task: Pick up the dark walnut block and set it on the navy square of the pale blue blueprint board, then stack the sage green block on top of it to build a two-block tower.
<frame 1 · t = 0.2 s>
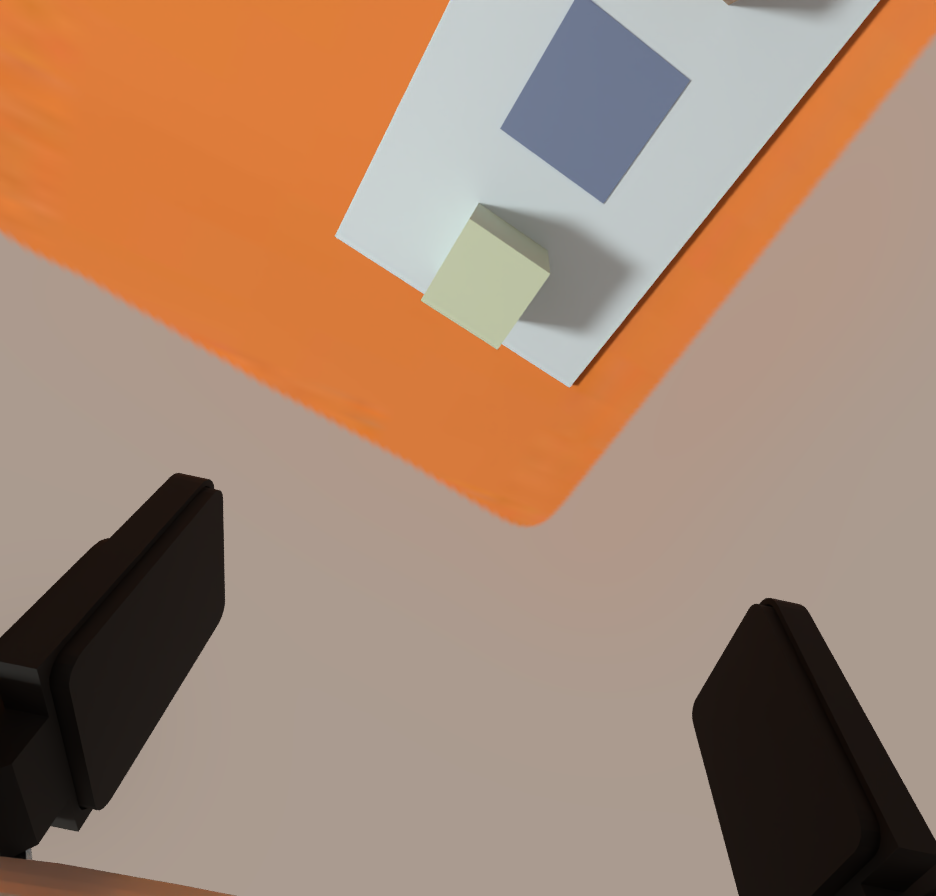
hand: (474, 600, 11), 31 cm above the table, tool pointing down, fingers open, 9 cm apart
sage block: (490, 262, 37), point 1 cm above the table, touching blueprint board
blueprint board: (591, 105, 33), on the table
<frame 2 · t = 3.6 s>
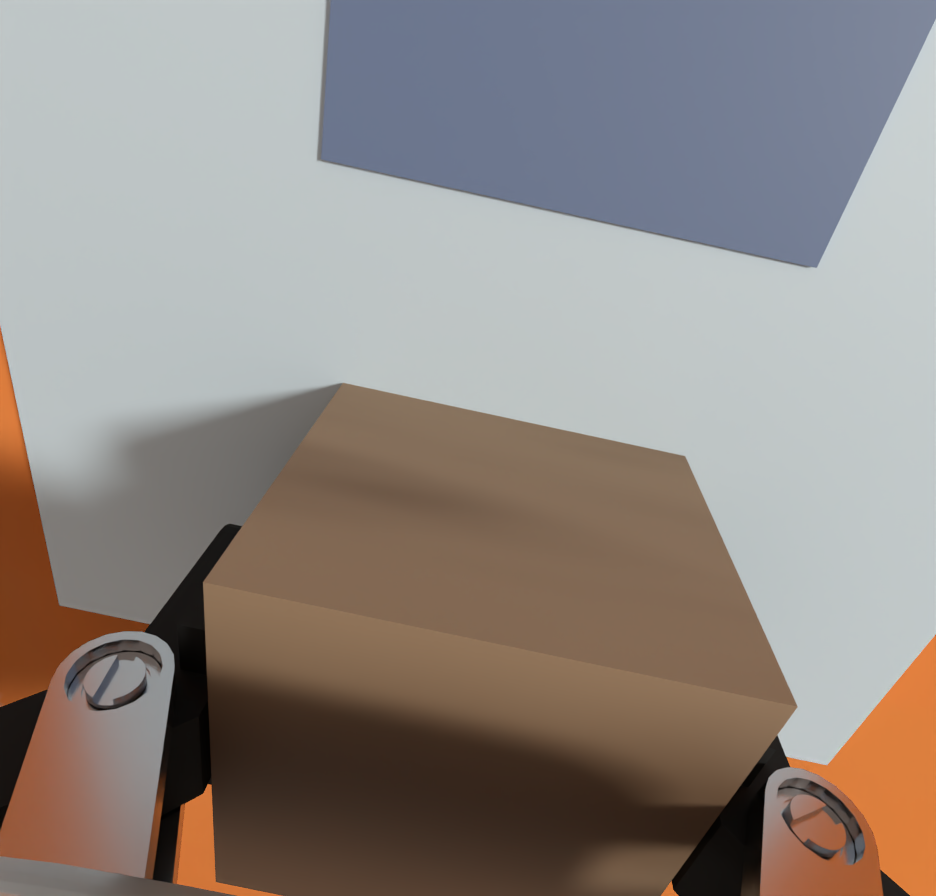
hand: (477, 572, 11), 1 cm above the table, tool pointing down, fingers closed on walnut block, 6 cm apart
walnut block: (480, 552, 12), point 1 cm above the table, touching blueprint board, gripper
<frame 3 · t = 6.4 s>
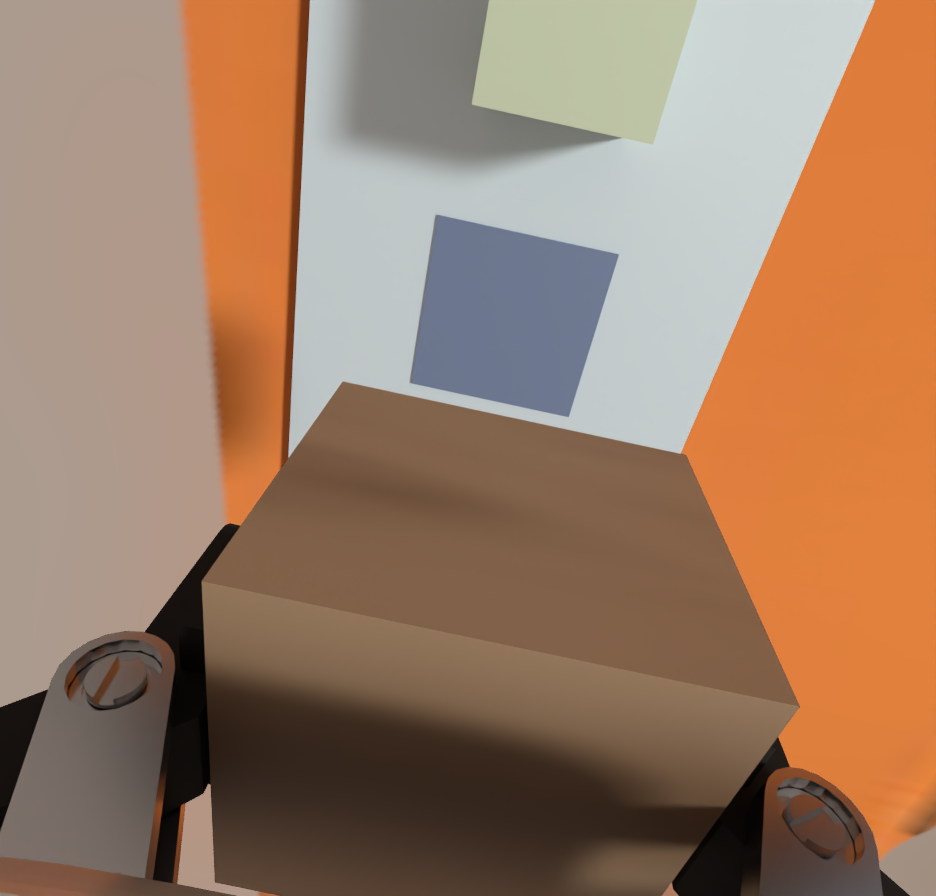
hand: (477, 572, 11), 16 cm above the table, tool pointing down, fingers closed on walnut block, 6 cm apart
sage block: (574, 39, 20), point 1 cm above the table, touching blueprint board
blueprint board: (508, 318, 26), on the table
walnut block: (480, 552, 12), point 16 cm above the table, touching gripper
when the fingers open (3 cm above the table, at t = 9.2 s): walnut block drops 1 cm, resting on blueprint board.
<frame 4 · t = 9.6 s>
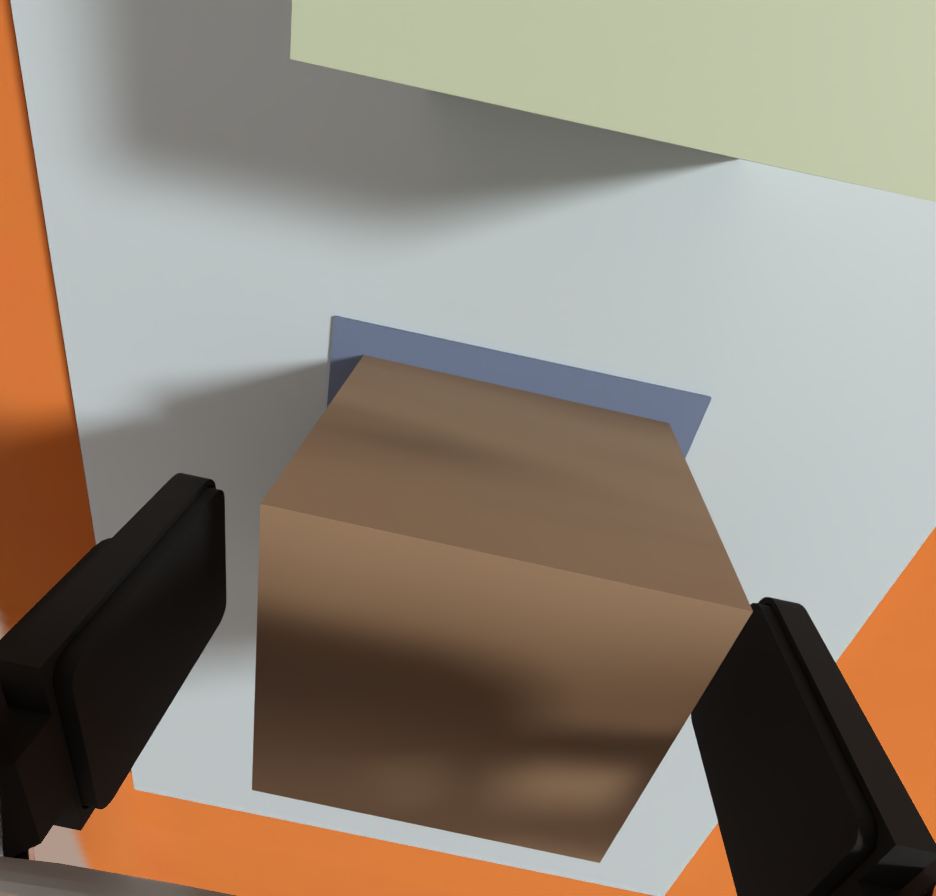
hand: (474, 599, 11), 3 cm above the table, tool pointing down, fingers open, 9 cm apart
blueprint board: (486, 493, 14), on the table
walnut block: (484, 513, 13), point 1 cm above the table, touching blueprint board
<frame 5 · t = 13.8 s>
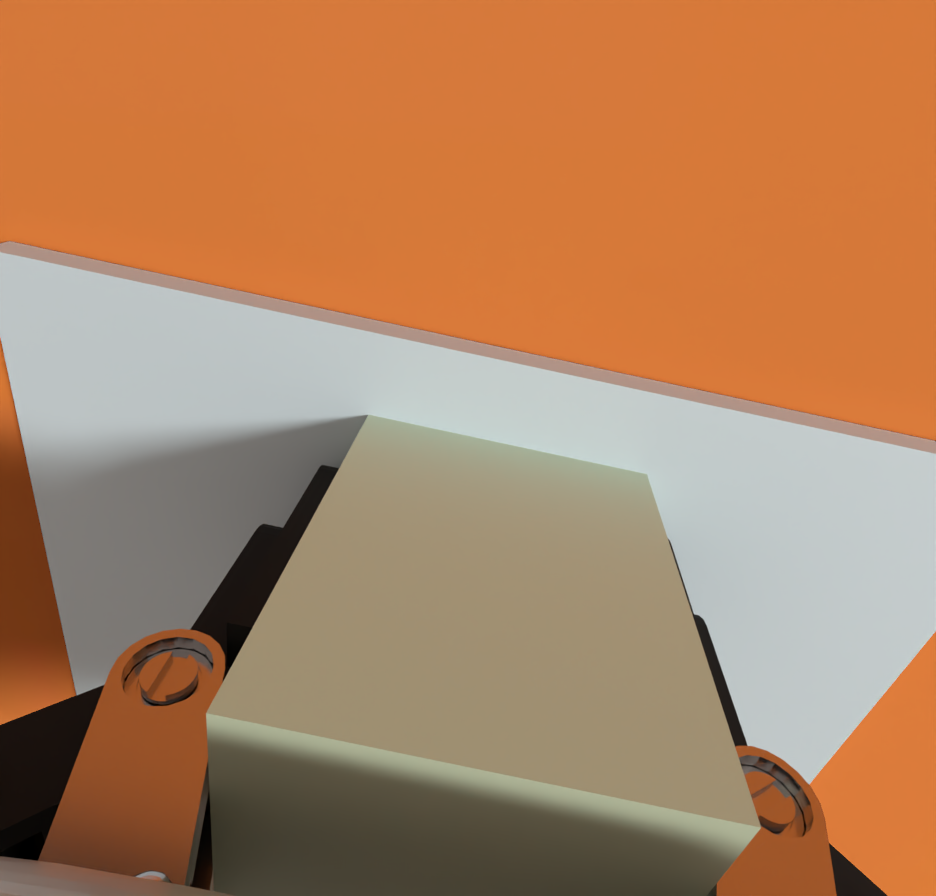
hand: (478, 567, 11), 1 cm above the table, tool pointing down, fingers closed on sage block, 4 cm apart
sage block: (479, 553, 12), point 1 cm above the table, touching blueprint board, gripper
blueprint board: (412, 803, 17), on the table
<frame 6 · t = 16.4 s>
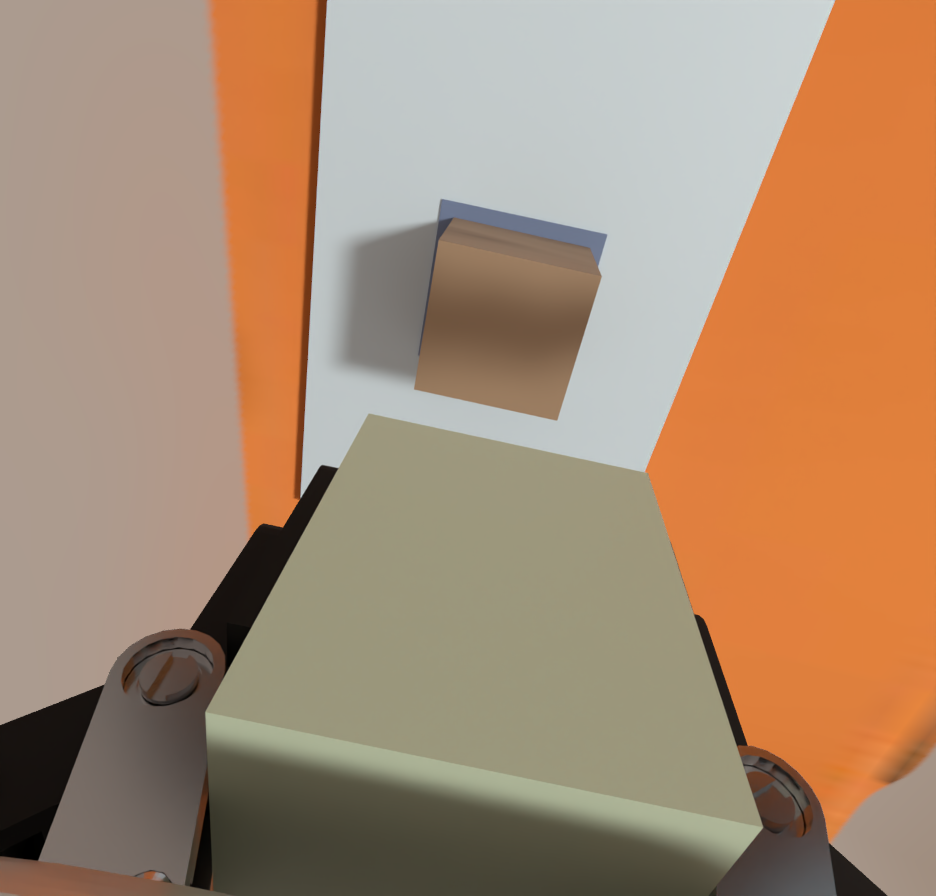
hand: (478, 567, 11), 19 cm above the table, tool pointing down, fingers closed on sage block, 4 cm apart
sage block: (480, 552, 12), point 19 cm above the table, touching gripper
blueprint board: (507, 294, 28), on the table
walnut block: (506, 299, 27), point 1 cm above the table, touching blueprint board
when the fingers open (7 cm above the table, at t = 19.0 s): sage block drops 1 cm, resting on walnut block.
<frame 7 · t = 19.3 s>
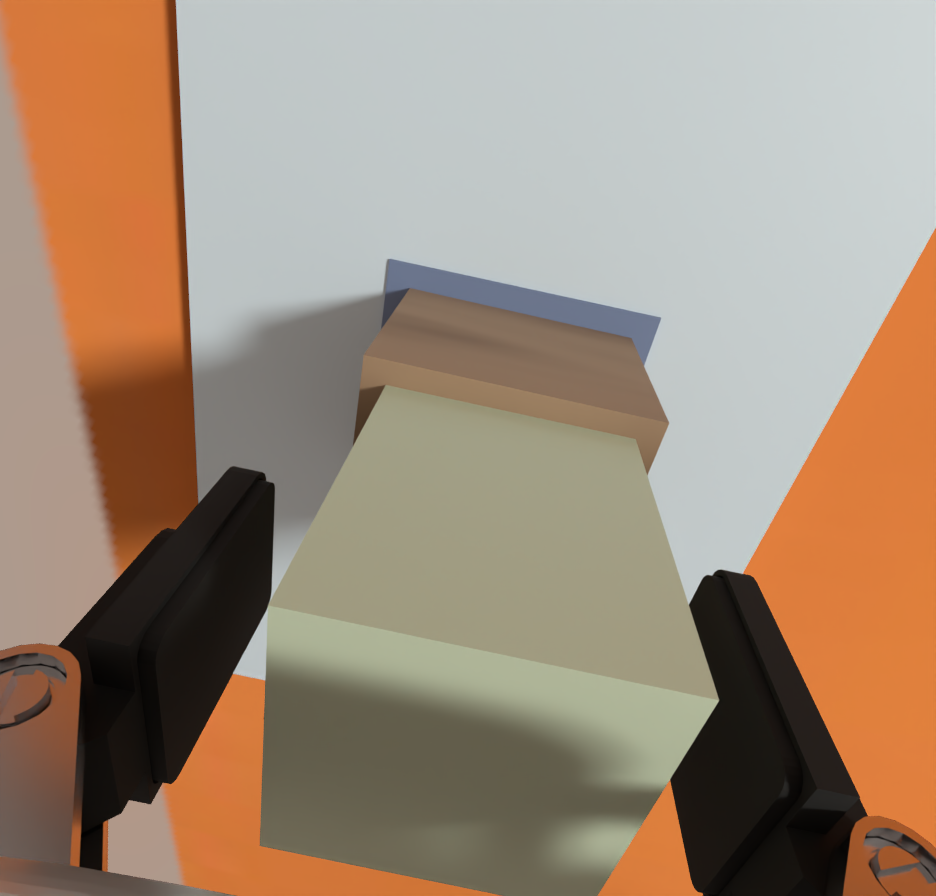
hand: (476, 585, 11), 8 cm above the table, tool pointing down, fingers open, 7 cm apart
sage block: (485, 513, 13), point 6 cm above the table, touching walnut block
blueprint board: (497, 401, 18), on the table
walnut block: (496, 412, 17), point 1 cm above the table, touching blueprint board, sage block
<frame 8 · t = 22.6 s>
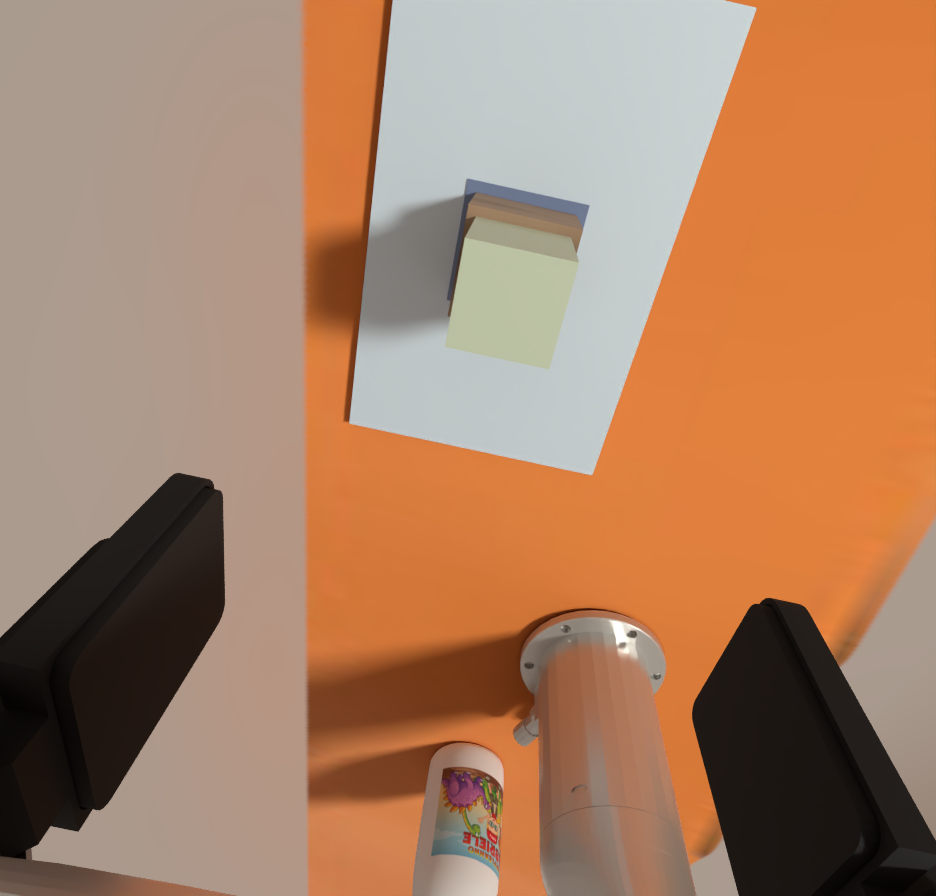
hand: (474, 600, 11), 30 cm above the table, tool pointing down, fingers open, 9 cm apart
sage block: (512, 275, 32), point 6 cm above the table, touching walnut block
blueprint board: (515, 252, 37), on the table
walnut block: (514, 255, 36), point 1 cm above the table, touching blueprint board, sage block
milk bottle: (467, 761, 63), on the table
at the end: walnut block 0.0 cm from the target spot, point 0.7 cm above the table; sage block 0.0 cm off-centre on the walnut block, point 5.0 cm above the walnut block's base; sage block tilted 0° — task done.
